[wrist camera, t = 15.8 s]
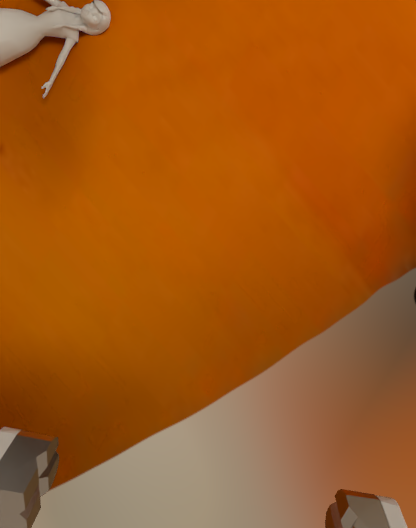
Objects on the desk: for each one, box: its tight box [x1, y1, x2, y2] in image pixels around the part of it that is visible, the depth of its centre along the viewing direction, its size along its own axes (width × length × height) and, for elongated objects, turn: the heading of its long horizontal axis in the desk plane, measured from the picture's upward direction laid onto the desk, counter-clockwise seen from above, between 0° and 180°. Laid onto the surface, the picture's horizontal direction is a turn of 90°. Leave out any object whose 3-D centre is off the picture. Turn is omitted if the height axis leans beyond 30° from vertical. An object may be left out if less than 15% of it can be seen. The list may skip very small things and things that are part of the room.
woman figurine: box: [0, 0, 111, 98], centre depth 32 cm, size 12×4×18 cm
